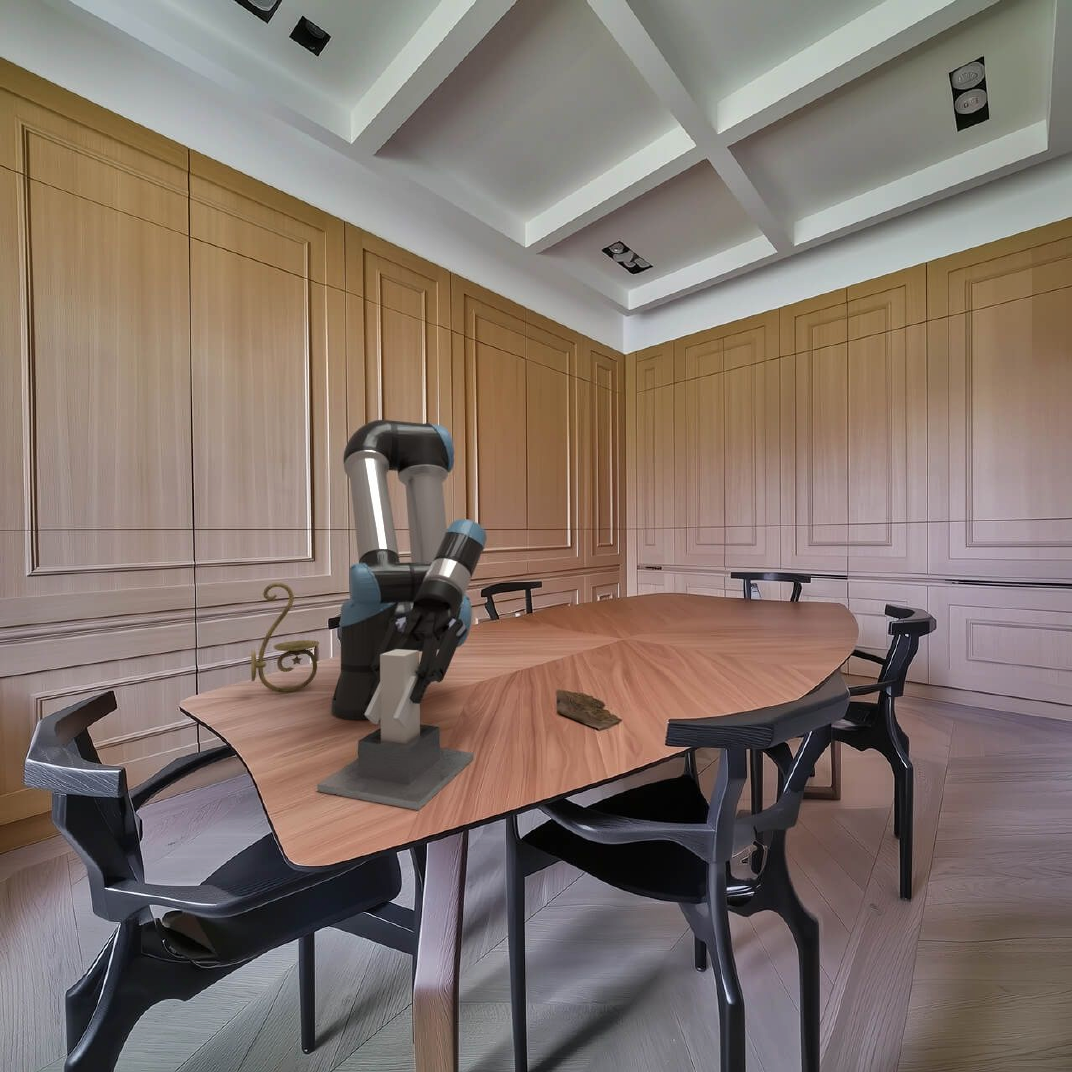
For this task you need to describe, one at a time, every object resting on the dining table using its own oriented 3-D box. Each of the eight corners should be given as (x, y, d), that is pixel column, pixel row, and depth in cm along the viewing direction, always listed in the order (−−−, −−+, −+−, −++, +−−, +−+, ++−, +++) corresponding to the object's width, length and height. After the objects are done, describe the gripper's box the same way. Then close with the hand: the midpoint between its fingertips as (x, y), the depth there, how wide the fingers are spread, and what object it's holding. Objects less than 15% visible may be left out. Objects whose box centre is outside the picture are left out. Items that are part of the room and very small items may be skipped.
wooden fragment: (630, 729, 94) (630, 723, 94) (572, 735, 92) (571, 729, 92) (586, 689, 119) (586, 685, 119) (540, 693, 117) (539, 688, 117)
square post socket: (317, 791, 71) (317, 747, 71) (386, 746, 86) (386, 710, 86) (418, 810, 66) (418, 763, 66) (473, 759, 81) (473, 721, 81)
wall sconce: (251, 703, 110) (250, 585, 110) (251, 691, 118) (250, 582, 118) (321, 693, 117) (321, 582, 117) (317, 682, 125) (316, 579, 125)
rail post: (381, 752, 75) (379, 654, 75) (397, 741, 78) (396, 649, 79) (404, 755, 73) (403, 656, 73) (420, 744, 77) (419, 650, 77)
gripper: (494, 606, 88) (448, 740, 72) (407, 604, 93) (347, 727, 78) (481, 577, 83) (428, 713, 67) (390, 577, 89) (321, 702, 73)
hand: (385, 720), depth 72 cm, fingers closed on rail post, 4 cm apart
